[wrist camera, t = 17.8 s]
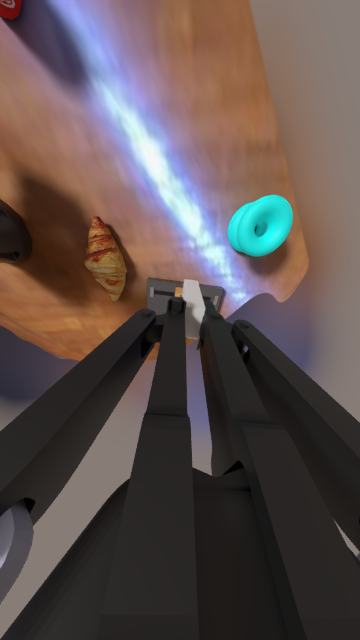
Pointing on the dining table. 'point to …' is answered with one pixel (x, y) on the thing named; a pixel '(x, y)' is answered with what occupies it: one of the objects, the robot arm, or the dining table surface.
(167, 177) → the dining table surface
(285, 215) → the donuts
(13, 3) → the soda can
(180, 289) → the orange fader
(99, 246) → the croissant
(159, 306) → the console
